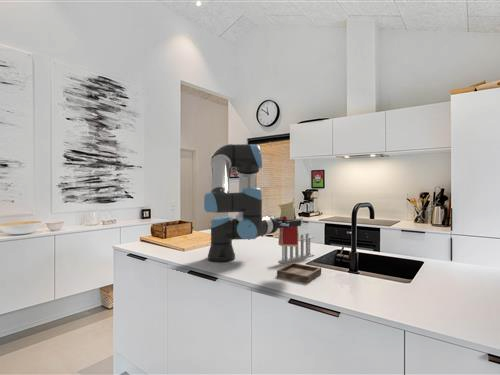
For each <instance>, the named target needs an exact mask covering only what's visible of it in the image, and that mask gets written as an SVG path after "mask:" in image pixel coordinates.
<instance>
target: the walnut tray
mask: <svg viewBox="0 0 500 375" xmlns="http://www.w3.org/2000/svg"><path fill="white" fill-rule="evenodd" d="M321 274H322V267H318V266H313V265H306V264H303V263H302V264H301V263H296V262H290V263H288V264H287V265H285V266H283V267H282V268H281V267H280V268H279V269H277V270H276V277H278V278H282V279H288V280H291V281H292V280H293V281H297V282H302V283H306V284H308V283H310V282H311V281H313V280H314V279H316V278H317V277H319V276H320V275H321Z"/></svg>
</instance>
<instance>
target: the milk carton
mask: <svg viewBox="0 0 500 375" xmlns="http://www.w3.org/2000/svg"><path fill="white" fill-rule="evenodd" d="M294 202H295V201H290V202H286V203H284V204H283V203H282V204H278V207H279V209H280V216H279V217H280V219H284V220H295V219H297V215H296V213H295V209H294ZM278 230H279V231H278V232H279V233H278V234H279V235H278V245H279V246H281V247H282V246H287V247H290V246H292V247H293V248H295V247H298V248H299V238H300V232H299V226H298V227H296V226H295V227H289V228H285V227H284V228H278Z"/></svg>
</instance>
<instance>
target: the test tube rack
mask: <svg viewBox="0 0 500 375" xmlns="http://www.w3.org/2000/svg"><path fill="white" fill-rule="evenodd" d="M309 234H310V233H308V232H305V234H304V233H300V236H299V241H300V255H299V246H298V247H292V246H289V257H288V246H281V247H282V248H281V249H282V250H281V253H282V254H281V256H282V257H281V260H280V259H279V260H277V263H280V264H290V263H294V262H296V261H299V260H304V259H308V258H311V257H315V254H312V253H311V239H314V238H315V236H311V235H309ZM304 246H305V248H304ZM294 250H295V253H294ZM304 250H305V251H304ZM294 254H295V255H294Z"/></svg>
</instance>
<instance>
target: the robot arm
mask: <svg viewBox="0 0 500 375" xmlns="http://www.w3.org/2000/svg"><path fill="white" fill-rule="evenodd" d="M261 150H262V149H261V147H260V146H259V144H251V143H250V144H249V143H248V144H247V143H245V144H244V143H243V144H238V143H237V144H233V143H231V144H230V143H229V144H225V145H223V146H221V147H220V148H218V149H217V150H216V151H215V152H214V153H213V155H212V157H211V161H210V165H211V168H212V169H211V170H212V173H211V181H210V182H211V183H210V184H211V185H210V192H206V193H205V194H204V200H203V204H204V205H203V206H204V211H205V212H206V213H214V214H218V213H223V214H224V213H237V214H236V215H235V218H233V217H232V215H223V216H217V217H214V218H212V219H211V222H210V248H209V250H208V254H207V260H208V261H211V262H214V263H225V262H230V261H234V260H235V259H236V254H235V250H234V247H233V243H232V242H233V241H234V240H235V241H237V240H256V239H257V238H259V237H262V238H263V237H264V236H266V235H270V234H274V233H276V232H277V231H278V230H279V229H280V228H284V227H285V228H289V227H295V226H296V227H298V228H299V227H301V226H302V224H304V218H303V217H298V218H297V217H296V219H295V220H284V219H280V216H278V217H276V216H275V215H263V214H262V213H263V198H262V197H263V194H262V189H261V188H260V187H256V184H257V183H256V179H257V178H256V175H257V174H258V173H260V172H259V171H260V169H262V168H263V159H262V151H261ZM231 168H232V169H235V170H236V173H238V192H230V169H231Z"/></svg>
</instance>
